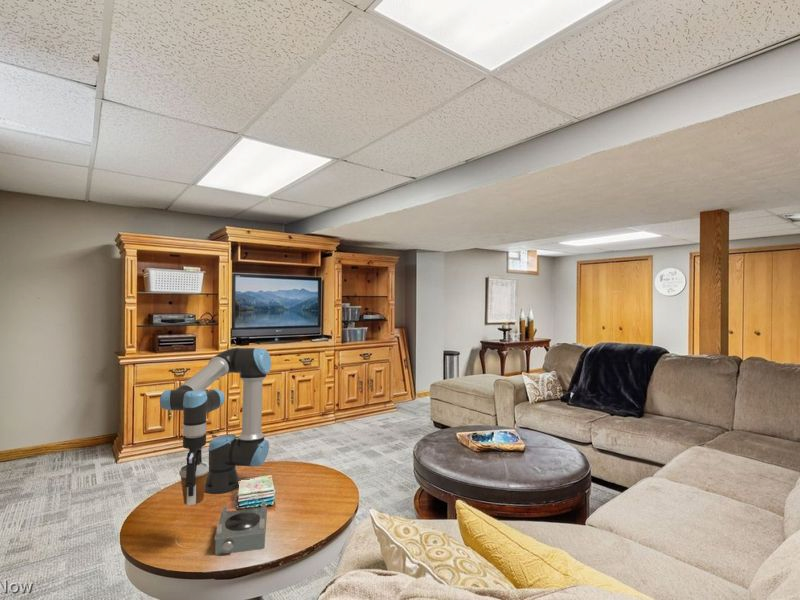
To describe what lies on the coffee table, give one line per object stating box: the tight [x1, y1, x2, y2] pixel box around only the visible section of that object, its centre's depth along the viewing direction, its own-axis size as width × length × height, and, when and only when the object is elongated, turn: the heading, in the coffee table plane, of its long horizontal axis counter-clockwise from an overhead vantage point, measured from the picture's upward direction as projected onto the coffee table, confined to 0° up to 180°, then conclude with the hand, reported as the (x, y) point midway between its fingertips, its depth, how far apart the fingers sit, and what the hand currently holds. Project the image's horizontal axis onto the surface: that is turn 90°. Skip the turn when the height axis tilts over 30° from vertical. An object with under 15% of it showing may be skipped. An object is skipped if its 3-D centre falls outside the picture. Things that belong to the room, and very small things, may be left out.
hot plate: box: [214, 501, 268, 556], centre depth 156 cm, size 20×17×9 cm
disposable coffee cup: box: [178, 462, 209, 506], centre depth 152 cm, size 10×10×12 cm
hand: (193, 498), depth 152 cm, fingers closed on disposable coffee cup, 8 cm apart
